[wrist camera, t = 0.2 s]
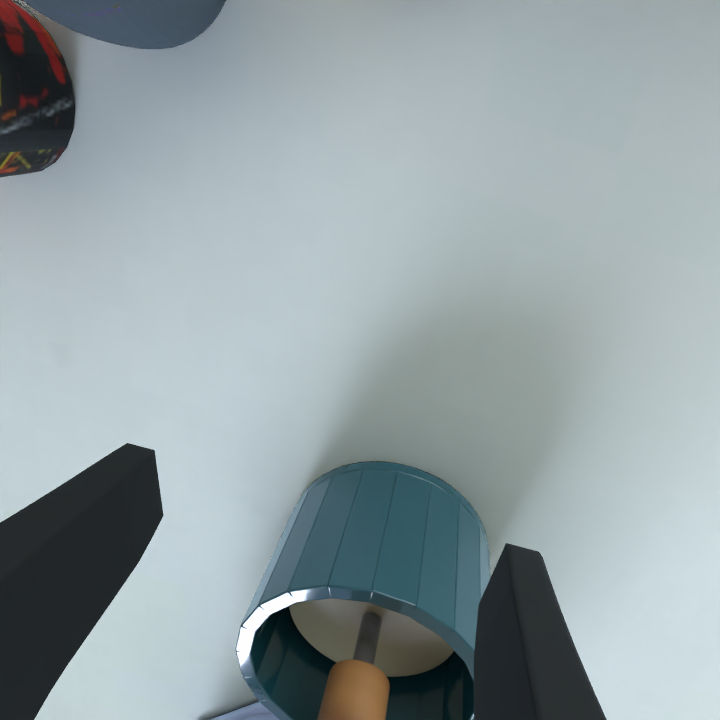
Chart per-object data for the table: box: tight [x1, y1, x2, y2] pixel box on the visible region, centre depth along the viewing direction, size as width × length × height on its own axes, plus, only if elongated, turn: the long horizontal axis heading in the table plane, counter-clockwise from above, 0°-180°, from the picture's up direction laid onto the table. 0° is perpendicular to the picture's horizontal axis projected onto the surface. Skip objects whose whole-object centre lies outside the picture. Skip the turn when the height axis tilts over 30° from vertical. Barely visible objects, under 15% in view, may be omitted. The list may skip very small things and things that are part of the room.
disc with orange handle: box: [289, 598, 454, 720], centre depth 19 cm, size 7×7×9 cm
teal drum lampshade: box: [236, 462, 490, 720], centre depth 21 cm, size 9×9×7 cm
